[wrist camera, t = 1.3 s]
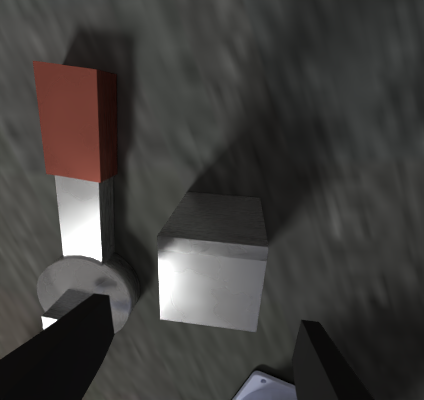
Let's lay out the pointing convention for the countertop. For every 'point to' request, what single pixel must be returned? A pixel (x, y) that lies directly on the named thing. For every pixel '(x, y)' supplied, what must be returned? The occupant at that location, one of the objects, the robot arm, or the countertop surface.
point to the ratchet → (82, 190)
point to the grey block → (213, 261)
